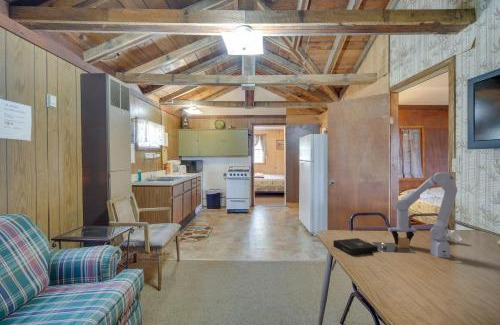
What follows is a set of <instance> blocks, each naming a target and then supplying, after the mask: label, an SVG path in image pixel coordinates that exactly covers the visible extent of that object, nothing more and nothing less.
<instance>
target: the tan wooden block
mask: <svg viewBox="0 0 500 325" xmlns="http://www.w3.org/2000/svg"><path fill="white" fill-rule="evenodd" d="M409 242H410V243H411V241H410V239H409V238H407V236H406V235H404V236H403V235H398V245H396V244H395V245H396V246H398V247H399V248H410V245H409Z"/></svg>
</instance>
